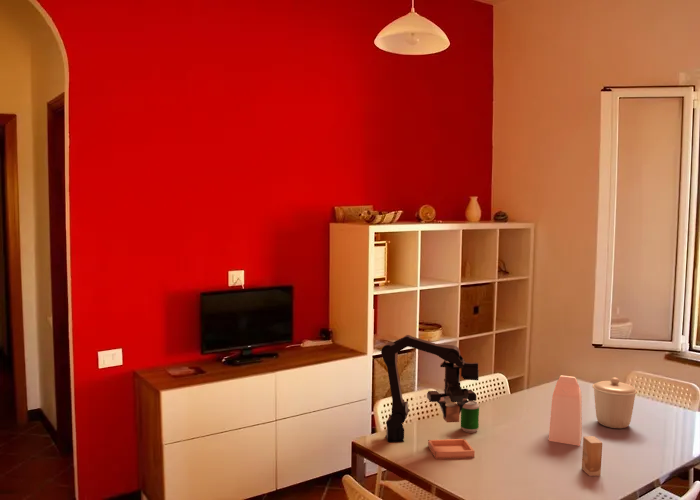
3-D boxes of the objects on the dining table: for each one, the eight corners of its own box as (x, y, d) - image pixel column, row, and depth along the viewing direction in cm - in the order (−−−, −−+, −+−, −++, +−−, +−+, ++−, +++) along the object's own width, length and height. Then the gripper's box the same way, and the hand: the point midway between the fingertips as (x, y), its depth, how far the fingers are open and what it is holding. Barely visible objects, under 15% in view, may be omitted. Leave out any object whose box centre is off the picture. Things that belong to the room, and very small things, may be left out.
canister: (590, 428, 258) (592, 380, 257) (591, 415, 275) (592, 370, 274) (637, 434, 252) (639, 385, 250) (634, 420, 268) (636, 374, 267)
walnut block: (446, 422, 234) (447, 407, 233) (443, 418, 239) (443, 403, 238) (459, 422, 234) (459, 407, 234) (455, 417, 239) (455, 403, 239)
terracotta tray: (435, 458, 224) (435, 452, 224) (428, 446, 236) (428, 440, 236) (474, 457, 225) (474, 451, 225) (464, 445, 237) (465, 439, 237)
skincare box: (581, 468, 217) (582, 435, 216) (592, 468, 217) (593, 435, 216) (589, 476, 210) (591, 442, 210) (601, 476, 211) (602, 442, 210)
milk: (581, 436, 249) (584, 375, 247) (579, 445, 238) (582, 381, 237) (551, 431, 254) (553, 371, 252) (548, 440, 244) (550, 378, 242)
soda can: (478, 434, 250) (479, 406, 249) (460, 432, 251) (461, 404, 250) (478, 427, 257) (479, 400, 256) (460, 426, 258) (461, 399, 258)
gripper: (434, 384, 226) (433, 425, 227) (482, 383, 229) (480, 423, 230) (427, 376, 237) (426, 415, 238) (472, 375, 240) (471, 413, 241)
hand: (451, 416), depth 236 cm, fingers closed on walnut block, 5 cm apart
